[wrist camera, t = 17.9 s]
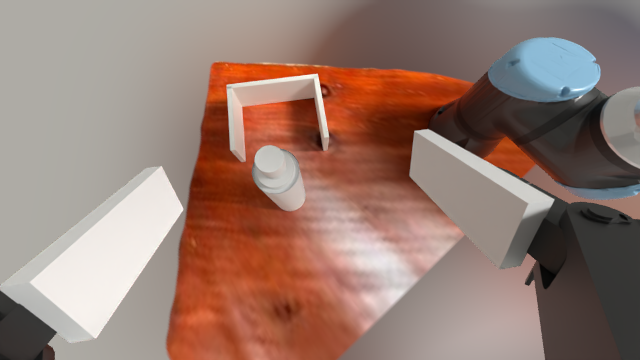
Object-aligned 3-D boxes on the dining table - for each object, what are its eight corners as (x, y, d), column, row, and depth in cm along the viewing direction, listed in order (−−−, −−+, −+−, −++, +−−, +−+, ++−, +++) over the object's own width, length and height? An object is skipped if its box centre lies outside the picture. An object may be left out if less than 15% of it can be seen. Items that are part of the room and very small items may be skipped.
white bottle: (287, 217, 49) (259, 194, 24) (269, 194, 50) (225, 149, 26) (311, 198, 50) (307, 157, 26) (293, 175, 51) (272, 116, 27)
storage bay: (317, 93, 57) (317, 73, 50) (327, 150, 53) (329, 136, 46) (237, 103, 56) (226, 84, 49) (241, 162, 52) (230, 150, 45)
